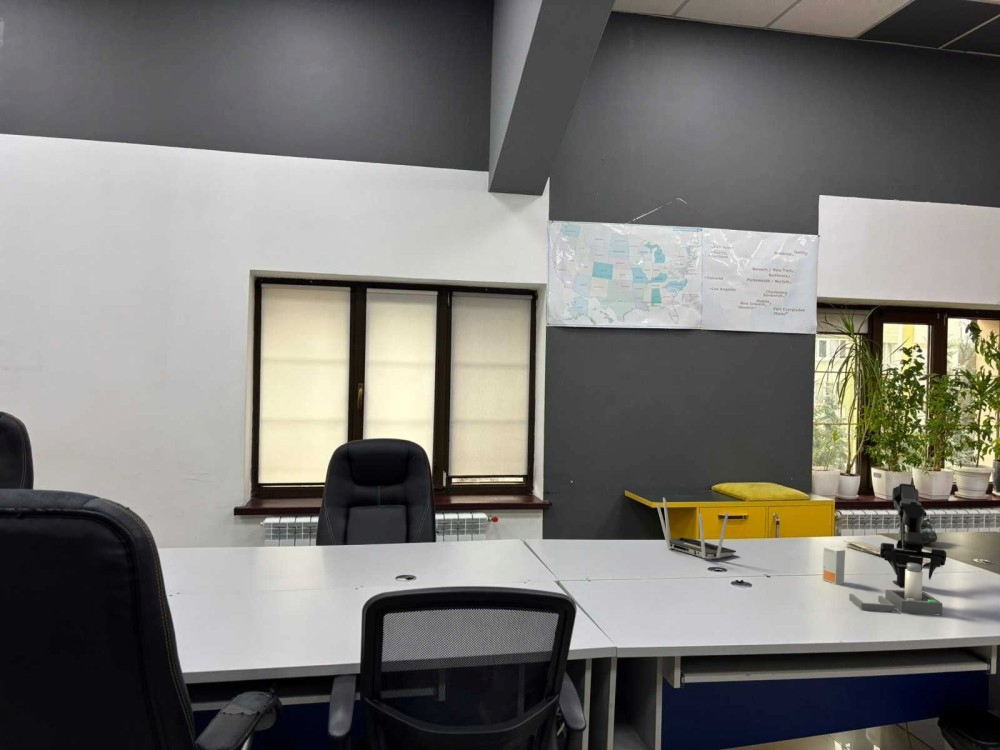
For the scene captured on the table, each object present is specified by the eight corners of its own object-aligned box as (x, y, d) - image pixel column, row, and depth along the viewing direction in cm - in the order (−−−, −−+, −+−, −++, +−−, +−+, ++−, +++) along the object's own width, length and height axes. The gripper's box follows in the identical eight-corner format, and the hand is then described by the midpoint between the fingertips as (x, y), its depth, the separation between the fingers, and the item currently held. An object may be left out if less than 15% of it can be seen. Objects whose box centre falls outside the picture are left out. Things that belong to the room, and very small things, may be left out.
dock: (885, 600, 237) (885, 587, 237) (923, 602, 236) (924, 590, 236) (901, 612, 225) (901, 599, 225) (942, 615, 224) (942, 601, 224)
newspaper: (939, 567, 285) (939, 558, 285) (918, 570, 279) (919, 561, 279) (859, 546, 317) (859, 538, 316) (840, 548, 311) (840, 540, 311)
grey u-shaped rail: (849, 599, 237) (849, 593, 237) (881, 601, 236) (881, 595, 236) (861, 609, 227) (861, 603, 227) (894, 611, 226) (894, 605, 226)
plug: (900, 602, 233) (902, 562, 232) (913, 602, 234) (914, 562, 234) (912, 607, 228) (913, 566, 228) (925, 606, 229) (926, 566, 229)
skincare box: (821, 579, 259) (823, 546, 259) (830, 578, 261) (831, 545, 261) (835, 584, 254) (837, 550, 254) (844, 583, 255) (845, 550, 255)
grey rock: (898, 543, 321) (891, 513, 328) (903, 550, 330) (896, 520, 336) (936, 539, 313) (928, 508, 320) (940, 545, 322) (932, 515, 328)
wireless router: (748, 559, 285) (750, 509, 285) (709, 566, 272) (711, 513, 272) (683, 541, 313) (684, 495, 313) (644, 547, 300) (646, 499, 300)
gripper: (881, 518, 241) (882, 559, 231) (946, 525, 233) (950, 567, 223) (879, 536, 248) (880, 577, 238) (942, 544, 240) (945, 586, 230)
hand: (913, 576), depth 232 cm, fingers open, 9 cm apart
